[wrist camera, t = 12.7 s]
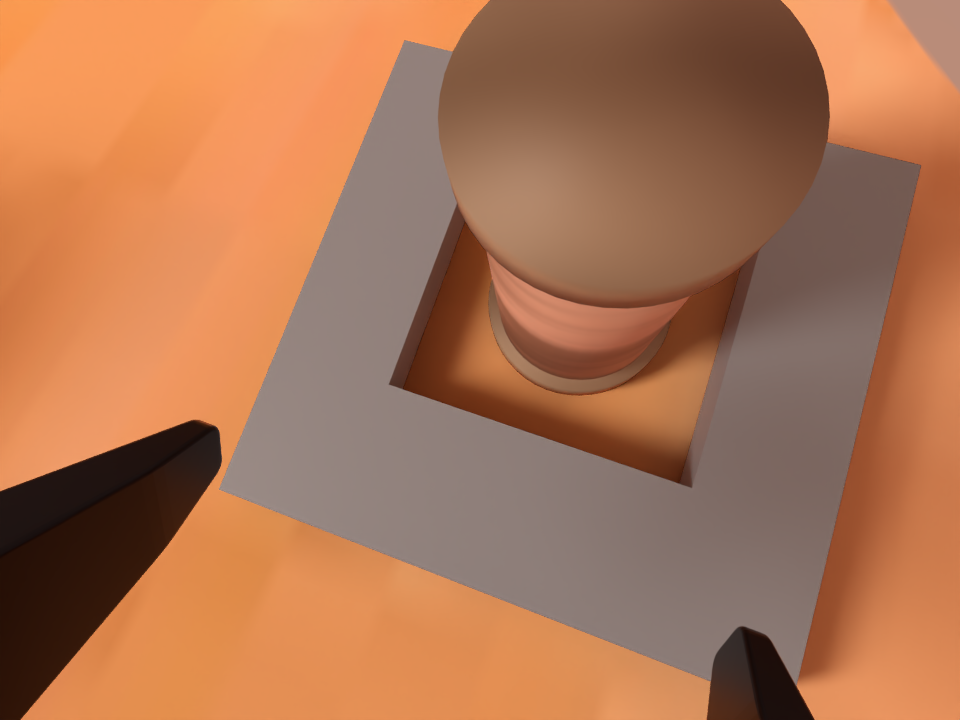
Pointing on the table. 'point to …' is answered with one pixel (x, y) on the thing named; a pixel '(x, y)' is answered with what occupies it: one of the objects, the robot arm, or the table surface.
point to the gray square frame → (560, 468)
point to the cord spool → (623, 165)
